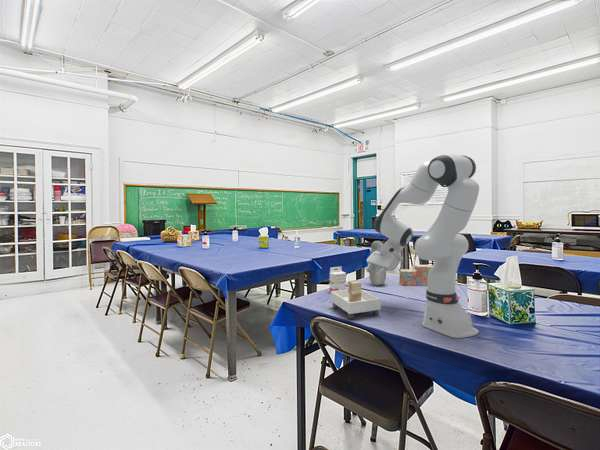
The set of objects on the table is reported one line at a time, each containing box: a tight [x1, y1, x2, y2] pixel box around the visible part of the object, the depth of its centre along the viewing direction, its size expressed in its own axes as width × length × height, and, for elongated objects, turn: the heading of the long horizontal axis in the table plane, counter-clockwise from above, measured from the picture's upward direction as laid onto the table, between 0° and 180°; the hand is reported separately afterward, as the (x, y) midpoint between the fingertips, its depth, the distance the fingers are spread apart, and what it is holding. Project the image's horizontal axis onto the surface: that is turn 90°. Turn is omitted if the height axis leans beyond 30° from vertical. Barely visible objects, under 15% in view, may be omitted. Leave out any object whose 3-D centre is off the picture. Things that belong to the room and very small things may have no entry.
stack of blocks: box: [399, 264, 434, 287], centre depth 205 cm, size 21×6×12 cm, turn 85°
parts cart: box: [330, 288, 382, 320], centre depth 158 cm, size 20×16×8 cm
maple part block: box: [347, 279, 362, 302], centre depth 158 cm, size 4×4×10 cm
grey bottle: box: [368, 240, 387, 286], centre depth 205 cm, size 10×10×28 cm
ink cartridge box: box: [329, 265, 347, 293], centre depth 191 cm, size 9×5×15 cm, turn 115°
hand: (372, 273), depth 161 cm, fingers open, 8 cm apart
